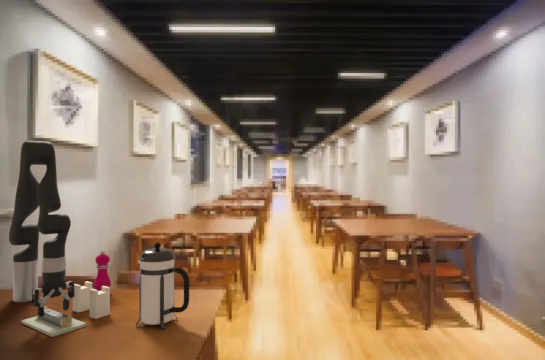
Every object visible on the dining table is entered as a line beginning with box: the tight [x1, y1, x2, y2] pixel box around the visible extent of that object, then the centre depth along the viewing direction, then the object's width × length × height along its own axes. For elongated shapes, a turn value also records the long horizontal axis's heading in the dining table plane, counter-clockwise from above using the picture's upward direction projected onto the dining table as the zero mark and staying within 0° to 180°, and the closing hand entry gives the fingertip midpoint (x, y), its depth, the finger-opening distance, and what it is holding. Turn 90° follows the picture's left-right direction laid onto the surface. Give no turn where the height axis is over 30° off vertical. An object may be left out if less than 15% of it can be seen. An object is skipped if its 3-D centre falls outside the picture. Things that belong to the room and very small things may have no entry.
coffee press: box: [135, 241, 190, 331], centre depth 144 cm, size 17×16×30 cm
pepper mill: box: [93, 250, 112, 291], centre depth 180 cm, size 7×7×20 cm
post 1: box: [72, 280, 93, 313], centre depth 158 cm, size 4×6×11 cm, turn 146°
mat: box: [21, 315, 87, 338], centre depth 142 cm, size 22×12×1 cm, turn 56°
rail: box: [36, 306, 73, 329], centre depth 142 cm, size 18×3×3 cm, turn 56°
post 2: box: [89, 286, 111, 320], centre depth 152 cm, size 4×6×11 cm, turn 146°
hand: (53, 313), depth 142 cm, fingers open, 8 cm apart
